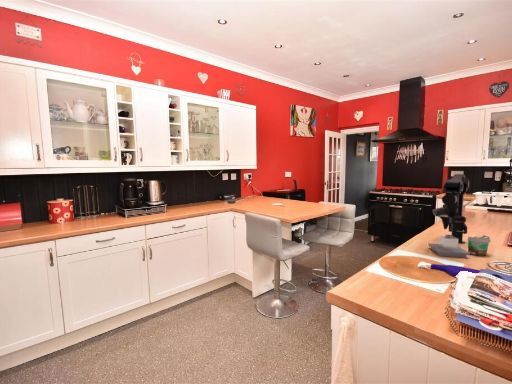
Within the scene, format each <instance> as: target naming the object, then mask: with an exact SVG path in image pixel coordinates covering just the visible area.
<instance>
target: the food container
mask: <svg viewBox="0 0 512 384" xmlns="http://www.w3.org/2000/svg"><path fill="white" fill-rule="evenodd" d="M491 242H492V241H491V237H490V236H488V235H486V234H483V235H482V236H468V237H467V243H468V245H467V248H468V249H467V252H469V253H470V255H469V256H475V257H487V254H488V249H489V245H490V243H491Z"/></svg>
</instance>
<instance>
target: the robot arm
mask: <svg viewBox="0 0 512 384" xmlns="http://www.w3.org/2000/svg"><path fill="white" fill-rule="evenodd" d="M469 188H470V179H469V178H468V177H467V176H465V174H463V173H456V174H453V177H452V178H451V179H446V180H445V181H444V183H443V187H442V193H443V194H445V195H443V196H442V198H441V202H442V207H436V208H433V209H431V211H432V214H433V216H435V217H438V218H439V219H440V220H441V223H442V226H443V229H444V230H447V229H448V232H451V234H450V235H452V236H453V237H456V238H457V239H458V244H465V243H466V242H465V241H464V240H463V235H466V234H468V226H467V224H466V222H467V217H465V216H464V215H463V211H464V198H465V196H464V195H465V193H466V192H467V191H468V189H469Z"/></svg>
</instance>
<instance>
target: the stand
mask: <svg viewBox="0 0 512 384" xmlns="http://www.w3.org/2000/svg"><path fill="white" fill-rule="evenodd" d="M428 246H429V247H430V250H432V251H433V252H434V253H435V254H437V255H438V256H439V257H451V258H461V259H462V258H463V259H464V258H465V259H466V258H467V256H471V255H470V253H469V252H468V250H465V249H463V248H461V247H460V246H458V250H452V249H442V248H441V247H439V243H430V242H428Z"/></svg>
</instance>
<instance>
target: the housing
mask: <svg viewBox="0 0 512 384" xmlns="http://www.w3.org/2000/svg"><path fill="white" fill-rule="evenodd" d="M438 238H439V239H438V244H439V247H441V248H442V249H452V250H458V247H459V243H458V239H457V238H456V237H453V236H452V235H451V234H444V235H438Z"/></svg>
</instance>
